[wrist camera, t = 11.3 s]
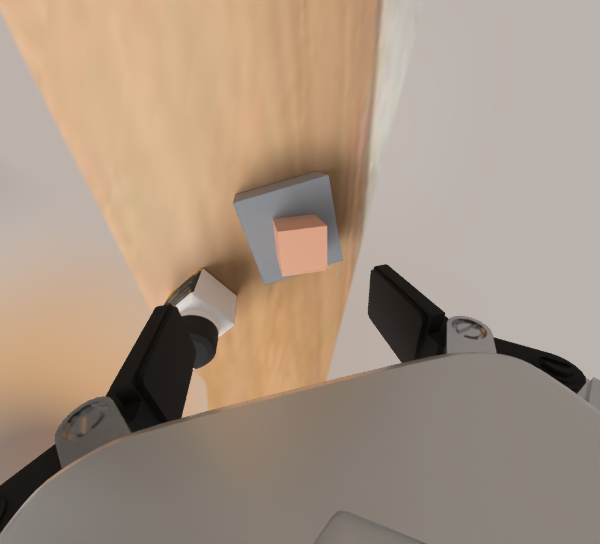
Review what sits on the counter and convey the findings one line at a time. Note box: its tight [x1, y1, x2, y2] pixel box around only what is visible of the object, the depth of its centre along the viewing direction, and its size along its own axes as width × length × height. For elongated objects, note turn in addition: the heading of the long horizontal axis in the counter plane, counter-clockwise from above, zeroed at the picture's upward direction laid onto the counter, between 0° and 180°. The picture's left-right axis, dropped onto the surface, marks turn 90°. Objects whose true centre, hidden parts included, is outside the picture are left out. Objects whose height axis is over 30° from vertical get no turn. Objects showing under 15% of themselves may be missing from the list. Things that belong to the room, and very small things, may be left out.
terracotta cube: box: [273, 214, 327, 277], centre depth 26 cm, size 5×5×5 cm
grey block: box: [233, 171, 343, 285], centre depth 31 cm, size 11×11×6 cm
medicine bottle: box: [164, 268, 237, 369], centre depth 30 cm, size 7×7×12 cm
